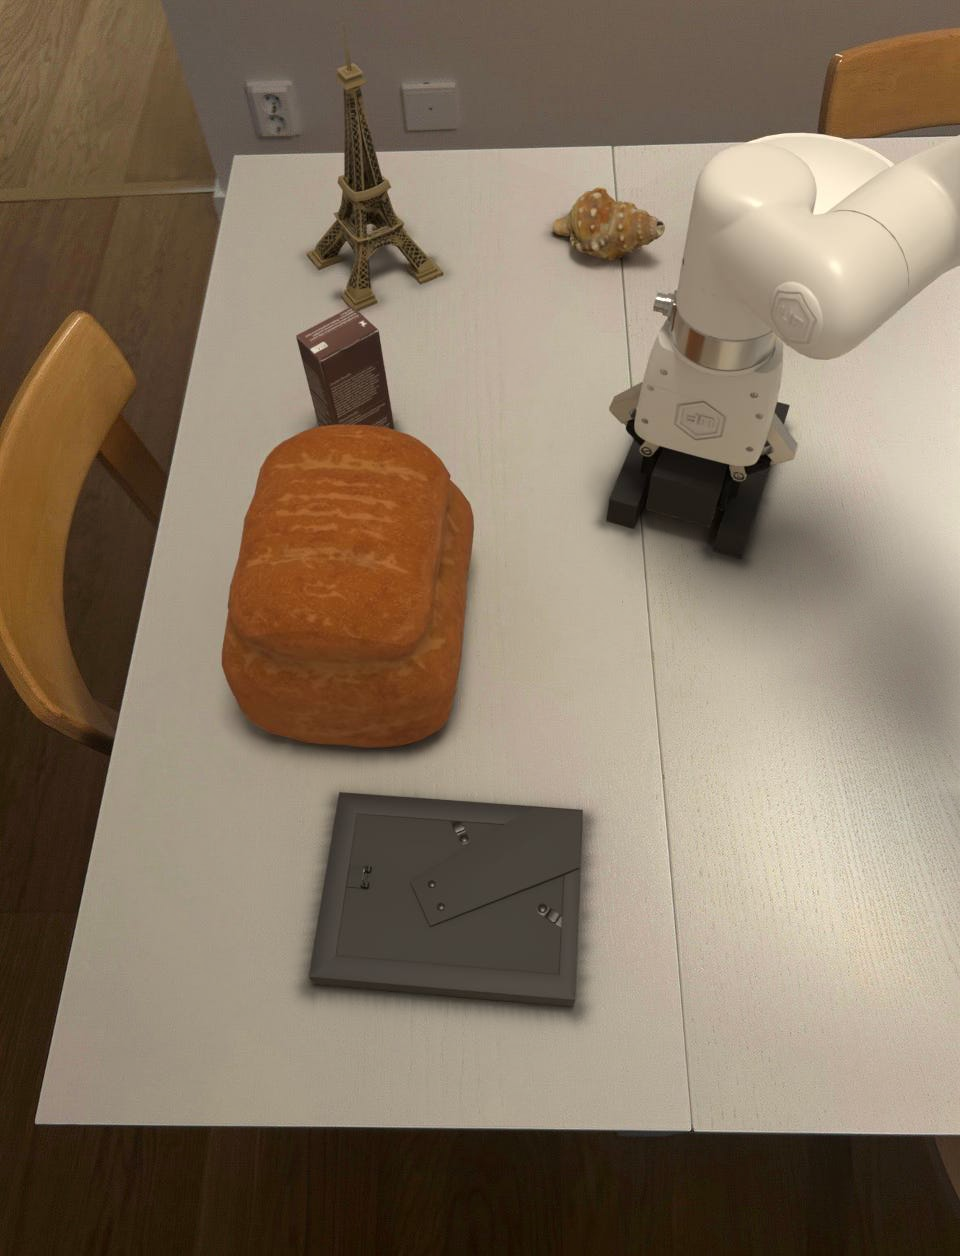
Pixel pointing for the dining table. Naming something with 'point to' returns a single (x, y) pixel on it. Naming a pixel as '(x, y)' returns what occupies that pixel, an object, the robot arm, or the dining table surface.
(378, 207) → the eiffel tower
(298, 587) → the bread
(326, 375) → the box
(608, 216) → the seashell
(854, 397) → the dining table surface
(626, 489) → the forked base block
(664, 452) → the dark grey square block
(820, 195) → the bowl
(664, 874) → the dining table surface
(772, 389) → the robot arm
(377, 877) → the picture frame
